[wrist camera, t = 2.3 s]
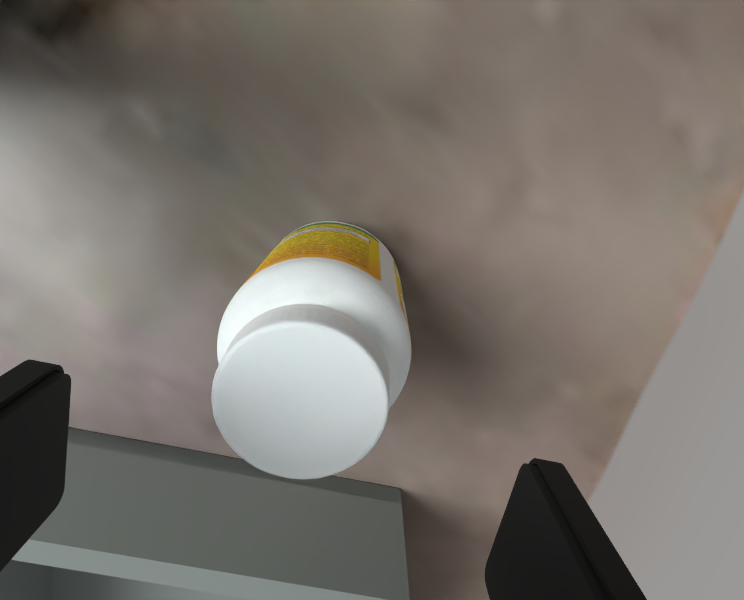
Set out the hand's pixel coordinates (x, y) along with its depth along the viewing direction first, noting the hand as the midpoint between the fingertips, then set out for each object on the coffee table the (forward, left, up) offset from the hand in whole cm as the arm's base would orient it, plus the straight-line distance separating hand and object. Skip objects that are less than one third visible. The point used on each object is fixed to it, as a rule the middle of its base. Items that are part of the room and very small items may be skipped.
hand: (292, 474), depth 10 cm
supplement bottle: (-1, 0, -11) cm, 11 cm away
